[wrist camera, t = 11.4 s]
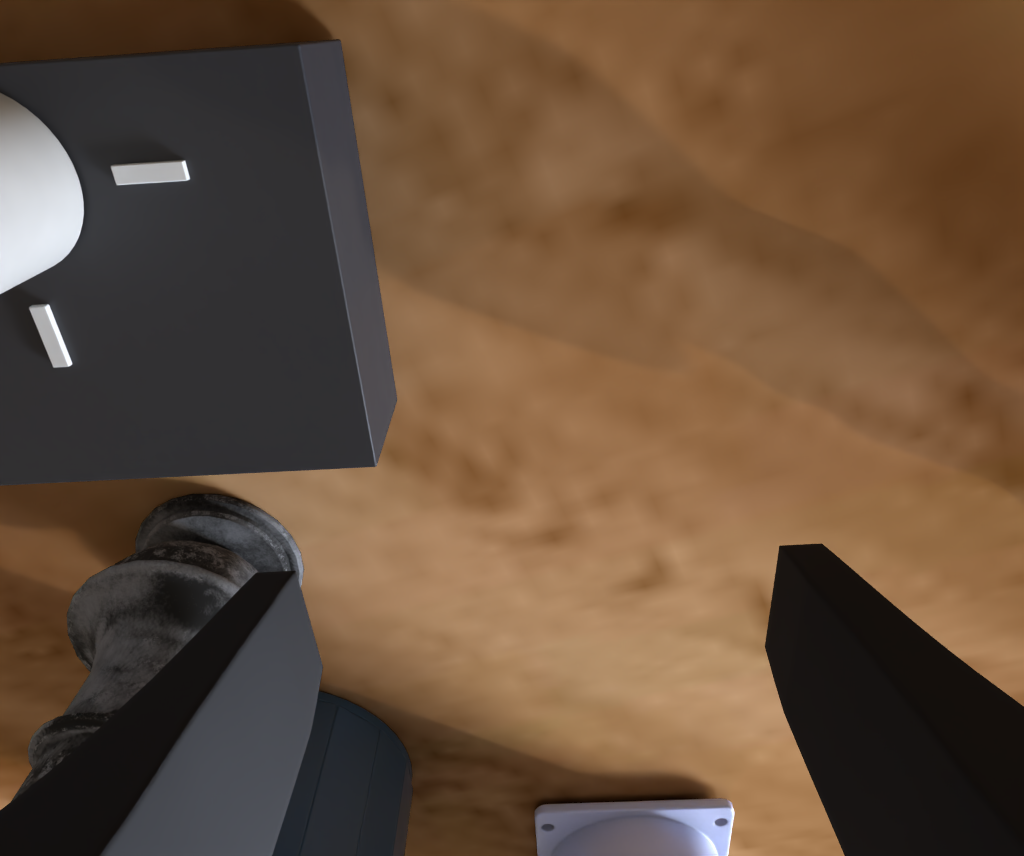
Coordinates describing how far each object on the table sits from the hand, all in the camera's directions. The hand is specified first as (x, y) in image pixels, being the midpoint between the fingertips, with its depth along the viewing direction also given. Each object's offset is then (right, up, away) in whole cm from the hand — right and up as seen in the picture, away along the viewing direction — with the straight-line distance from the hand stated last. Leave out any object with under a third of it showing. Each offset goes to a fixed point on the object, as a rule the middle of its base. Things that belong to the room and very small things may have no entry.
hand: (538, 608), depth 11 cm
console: (-10, +7, +7) cm, 15 cm away
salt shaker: (-10, -1, +13) cm, 16 cm away
